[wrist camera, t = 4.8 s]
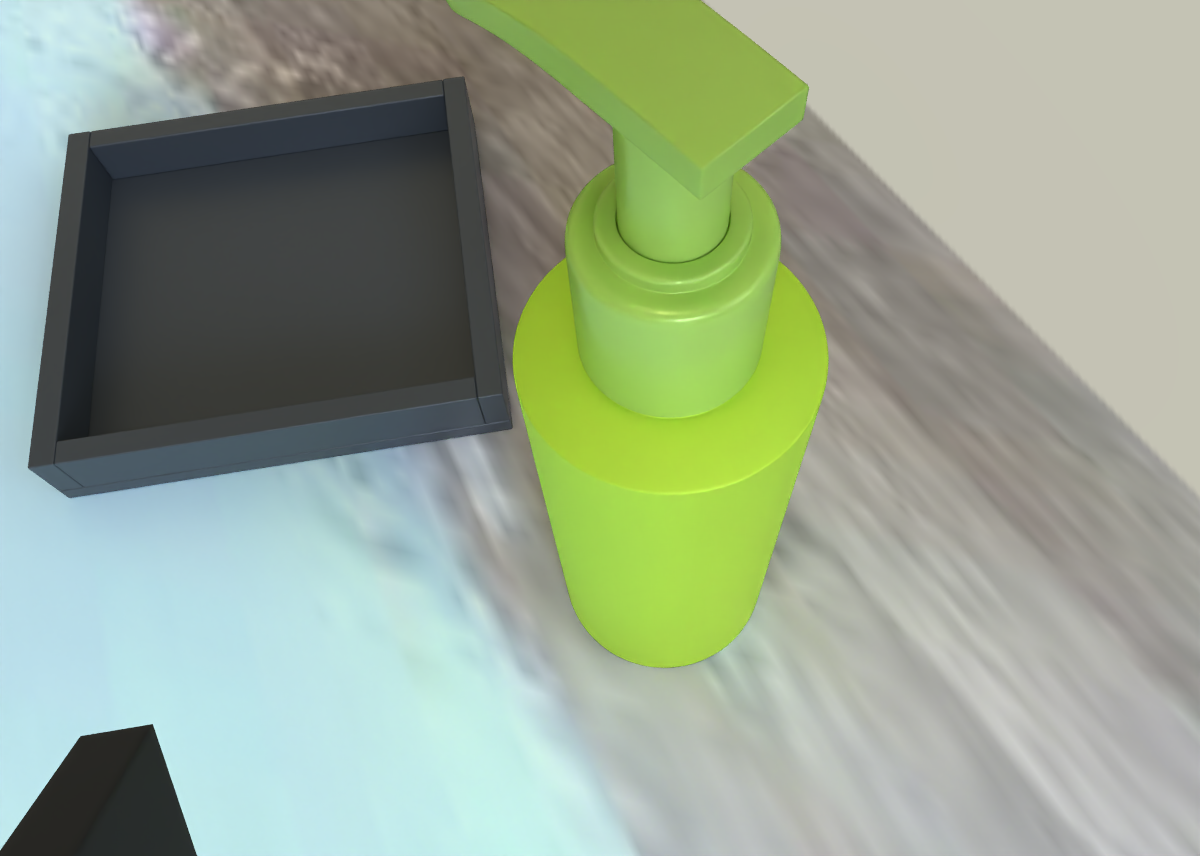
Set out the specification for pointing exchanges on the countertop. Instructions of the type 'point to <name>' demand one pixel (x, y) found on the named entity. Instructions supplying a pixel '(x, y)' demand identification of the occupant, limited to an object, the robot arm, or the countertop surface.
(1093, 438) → the countertop surface
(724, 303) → the soap dispenser
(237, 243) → the tray
